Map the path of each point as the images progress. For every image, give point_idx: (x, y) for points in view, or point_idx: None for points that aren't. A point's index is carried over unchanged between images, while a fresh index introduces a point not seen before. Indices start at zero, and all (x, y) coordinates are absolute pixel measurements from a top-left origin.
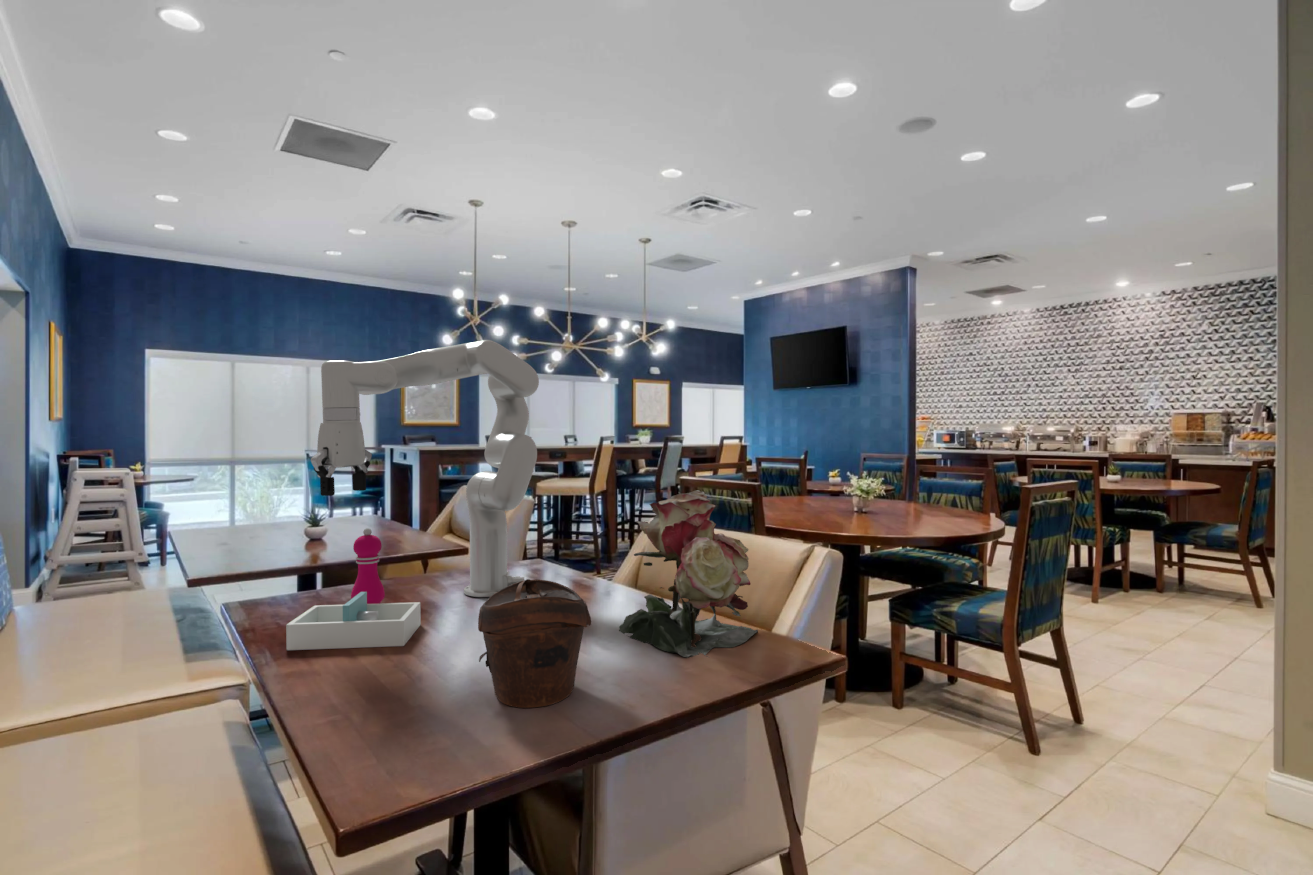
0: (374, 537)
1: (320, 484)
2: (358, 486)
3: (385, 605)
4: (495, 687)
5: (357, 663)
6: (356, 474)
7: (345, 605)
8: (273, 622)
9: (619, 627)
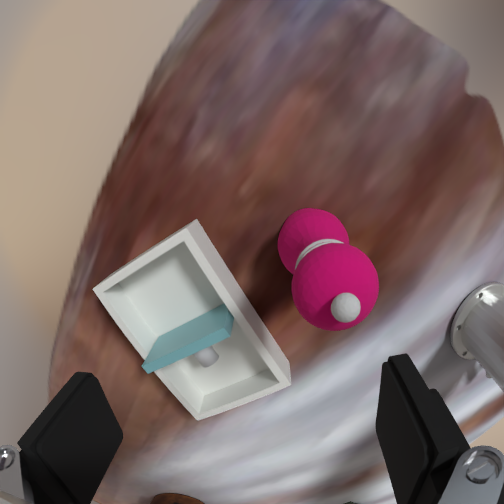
0: (342, 325)
1: (44, 411)
2: (384, 417)
3: (254, 345)
4: (151, 502)
5: (134, 387)
6: (415, 478)
7: (145, 368)
8: (190, 111)
9: (348, 502)
